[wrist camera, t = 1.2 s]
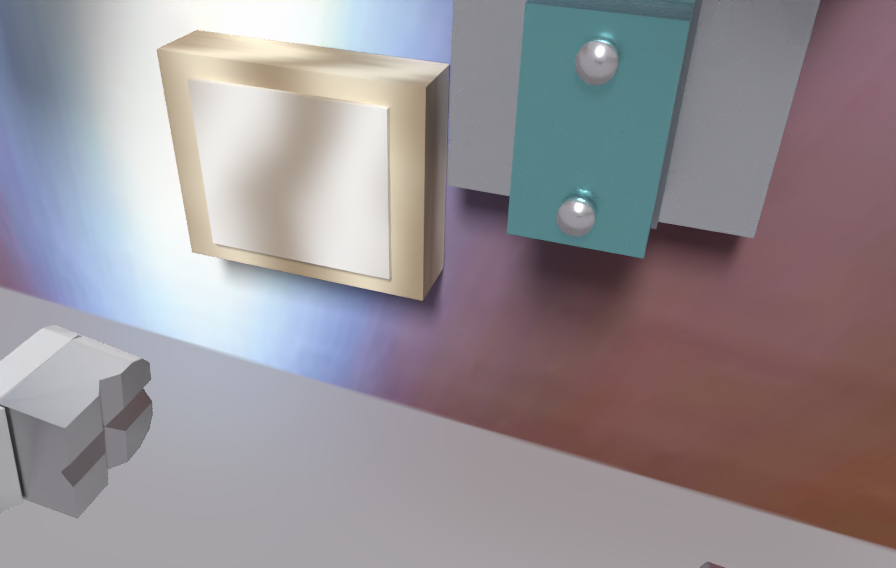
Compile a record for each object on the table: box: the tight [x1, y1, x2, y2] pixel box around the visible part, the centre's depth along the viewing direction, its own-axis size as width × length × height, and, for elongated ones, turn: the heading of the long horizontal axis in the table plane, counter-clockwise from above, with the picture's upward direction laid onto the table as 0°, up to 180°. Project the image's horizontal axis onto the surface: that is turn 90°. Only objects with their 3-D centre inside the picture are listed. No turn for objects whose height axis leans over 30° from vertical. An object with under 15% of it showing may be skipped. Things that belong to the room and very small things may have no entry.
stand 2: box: [448, 0, 820, 238], centre depth 29 cm, size 12×10×3 cm
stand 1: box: [157, 30, 450, 301], centre depth 36 cm, size 12×10×3 cm
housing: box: [507, 0, 703, 259], centre depth 26 cm, size 5×8×6 cm, turn 178°
